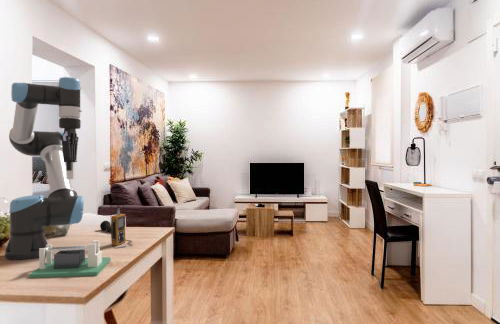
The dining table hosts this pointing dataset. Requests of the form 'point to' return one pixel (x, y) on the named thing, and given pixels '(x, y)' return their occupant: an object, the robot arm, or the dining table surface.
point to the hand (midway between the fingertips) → (70, 178)
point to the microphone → (105, 226)
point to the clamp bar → (65, 248)
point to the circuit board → (88, 268)
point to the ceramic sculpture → (56, 230)
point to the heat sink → (69, 259)
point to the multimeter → (118, 228)
